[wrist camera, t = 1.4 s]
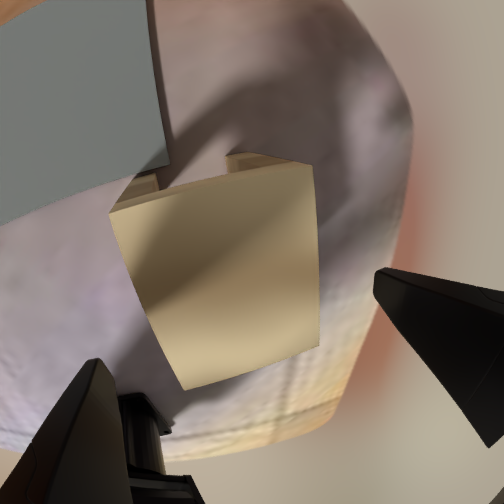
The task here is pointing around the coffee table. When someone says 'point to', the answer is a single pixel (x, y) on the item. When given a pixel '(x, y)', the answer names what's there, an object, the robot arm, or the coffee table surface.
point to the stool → (225, 265)
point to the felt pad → (75, 101)
